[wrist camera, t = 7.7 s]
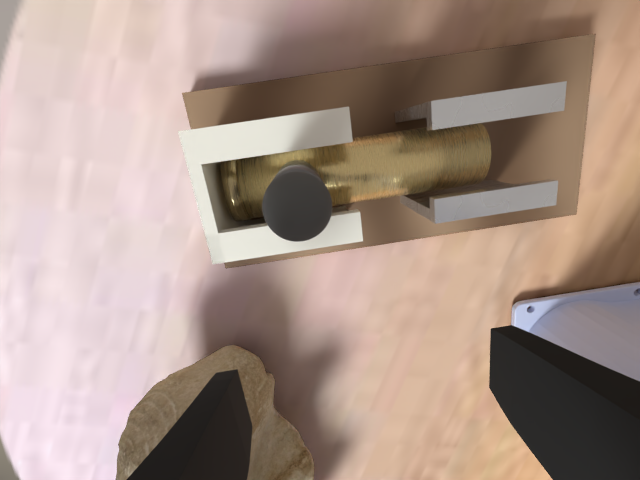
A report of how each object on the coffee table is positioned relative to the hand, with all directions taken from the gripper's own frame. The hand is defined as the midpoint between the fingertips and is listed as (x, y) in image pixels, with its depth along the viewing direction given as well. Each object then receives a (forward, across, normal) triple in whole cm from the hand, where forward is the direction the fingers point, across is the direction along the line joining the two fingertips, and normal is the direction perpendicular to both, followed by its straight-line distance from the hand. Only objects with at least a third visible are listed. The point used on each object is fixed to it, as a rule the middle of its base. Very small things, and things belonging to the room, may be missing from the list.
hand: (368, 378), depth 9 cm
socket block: (+10, +2, -5) cm, 12 cm away
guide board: (+10, -4, -5) cm, 12 cm away
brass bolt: (+9, -1, -5) cm, 10 cm away
